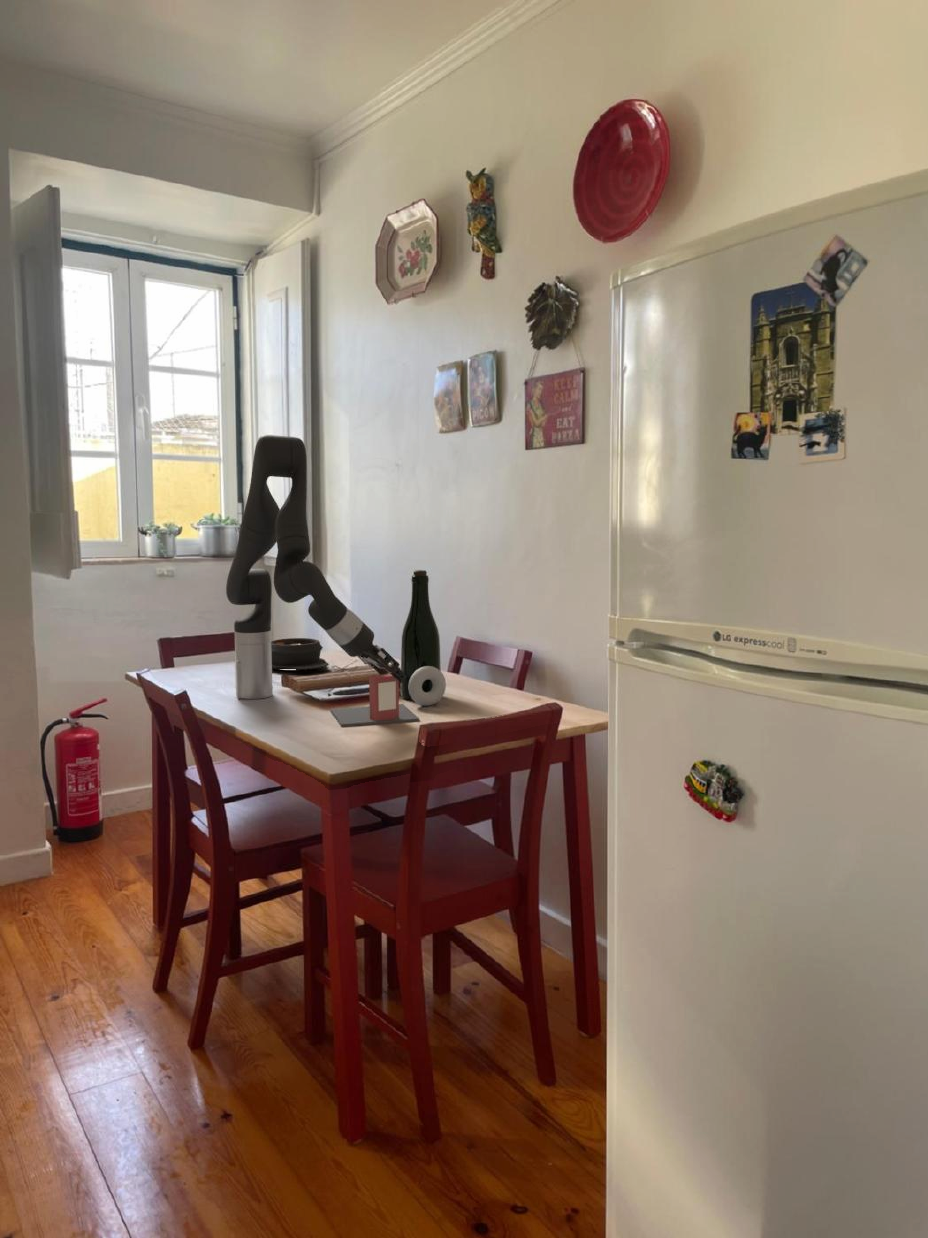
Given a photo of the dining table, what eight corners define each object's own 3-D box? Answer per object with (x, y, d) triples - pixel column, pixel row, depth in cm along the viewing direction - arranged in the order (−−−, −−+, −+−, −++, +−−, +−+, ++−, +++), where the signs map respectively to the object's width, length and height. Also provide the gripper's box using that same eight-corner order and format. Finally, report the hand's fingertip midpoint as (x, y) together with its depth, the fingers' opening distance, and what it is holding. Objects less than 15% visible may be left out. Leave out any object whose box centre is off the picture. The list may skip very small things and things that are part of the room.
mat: (341, 726, 201) (341, 724, 201) (330, 711, 216) (330, 709, 216) (419, 721, 207) (419, 718, 206) (402, 706, 222) (402, 704, 222)
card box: (375, 721, 204) (375, 678, 203) (369, 718, 206) (369, 676, 205) (399, 718, 207) (398, 675, 206) (392, 715, 210) (392, 673, 208)
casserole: (247, 666, 278) (247, 640, 277) (300, 659, 290) (299, 634, 289) (290, 678, 259) (289, 649, 258) (343, 670, 272) (343, 642, 271)
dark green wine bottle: (397, 694, 236) (395, 569, 232) (435, 692, 239) (434, 568, 235) (405, 702, 226) (404, 572, 222) (445, 700, 229) (445, 571, 225)
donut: (442, 702, 226) (442, 663, 225) (448, 705, 223) (448, 665, 222) (406, 706, 222) (405, 666, 221) (411, 709, 219) (411, 668, 217)
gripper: (373, 622, 195) (420, 669, 202) (345, 615, 207) (390, 660, 214) (351, 648, 192) (399, 694, 200) (325, 640, 204) (370, 684, 212)
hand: (394, 676), depth 207 cm, fingers open, 8 cm apart
